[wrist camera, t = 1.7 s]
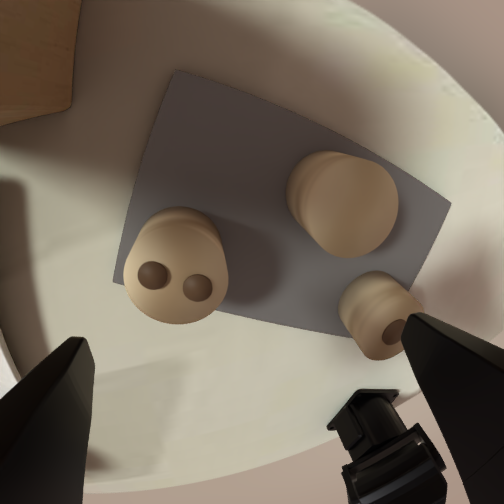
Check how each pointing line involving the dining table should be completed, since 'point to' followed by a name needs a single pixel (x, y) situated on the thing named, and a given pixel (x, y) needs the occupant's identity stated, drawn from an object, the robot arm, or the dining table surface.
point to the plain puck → (342, 202)
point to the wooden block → (36, 57)
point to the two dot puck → (177, 267)
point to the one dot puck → (377, 313)
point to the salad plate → (7, 369)
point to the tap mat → (266, 203)
